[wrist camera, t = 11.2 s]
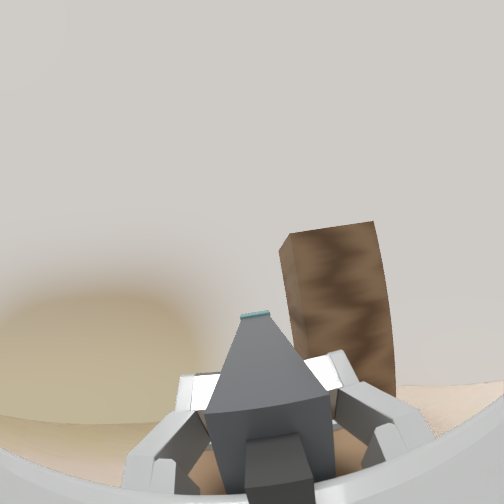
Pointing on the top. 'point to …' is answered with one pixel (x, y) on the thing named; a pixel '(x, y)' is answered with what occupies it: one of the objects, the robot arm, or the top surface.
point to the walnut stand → (332, 322)
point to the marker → (270, 418)
